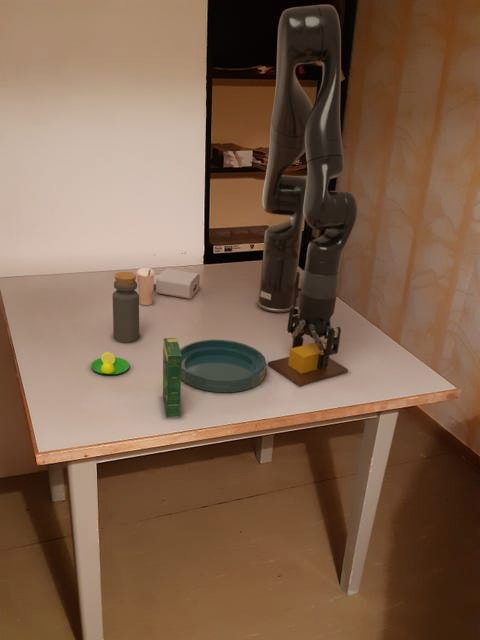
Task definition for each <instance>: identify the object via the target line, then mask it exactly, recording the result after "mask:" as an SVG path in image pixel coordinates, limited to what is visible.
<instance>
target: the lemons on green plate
mask: <svg viewBox="0 0 480 640" xmlns="http://www.w3.org/2000/svg"><path fill="white" fill-rule="evenodd" d="M90 367H91V369H92V370H93V371H95V372H96V373H98V374H103V375H118V374H121V373H124V372H126V371H128V370H129V368H130V362H128V360H126V359H124V358H121V357H119V356H118V357H116V356H115V355H114V354H113V353H112V352H110V351H106V352H104V353H102V355H101V356H100V357H99V358H97V359H95V360H94V361H92V362H91V364H90Z"/></svg>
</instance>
